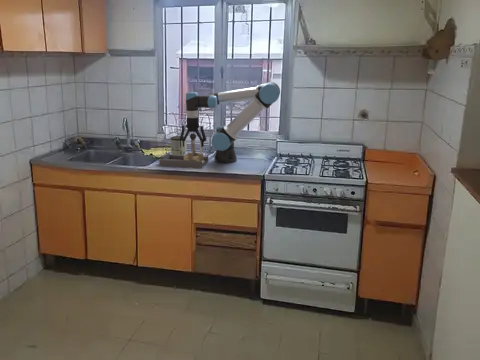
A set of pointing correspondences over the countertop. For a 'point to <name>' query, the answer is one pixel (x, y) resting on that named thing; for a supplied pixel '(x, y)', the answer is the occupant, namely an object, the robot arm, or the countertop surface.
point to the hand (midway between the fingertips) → (193, 151)
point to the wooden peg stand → (193, 151)
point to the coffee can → (177, 146)
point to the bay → (181, 161)
